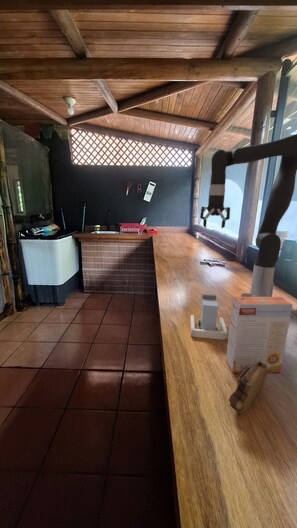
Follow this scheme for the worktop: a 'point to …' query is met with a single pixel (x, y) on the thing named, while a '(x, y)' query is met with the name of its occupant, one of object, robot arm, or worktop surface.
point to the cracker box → (258, 332)
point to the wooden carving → (248, 386)
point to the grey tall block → (208, 312)
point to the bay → (209, 331)
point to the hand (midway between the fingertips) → (213, 227)
